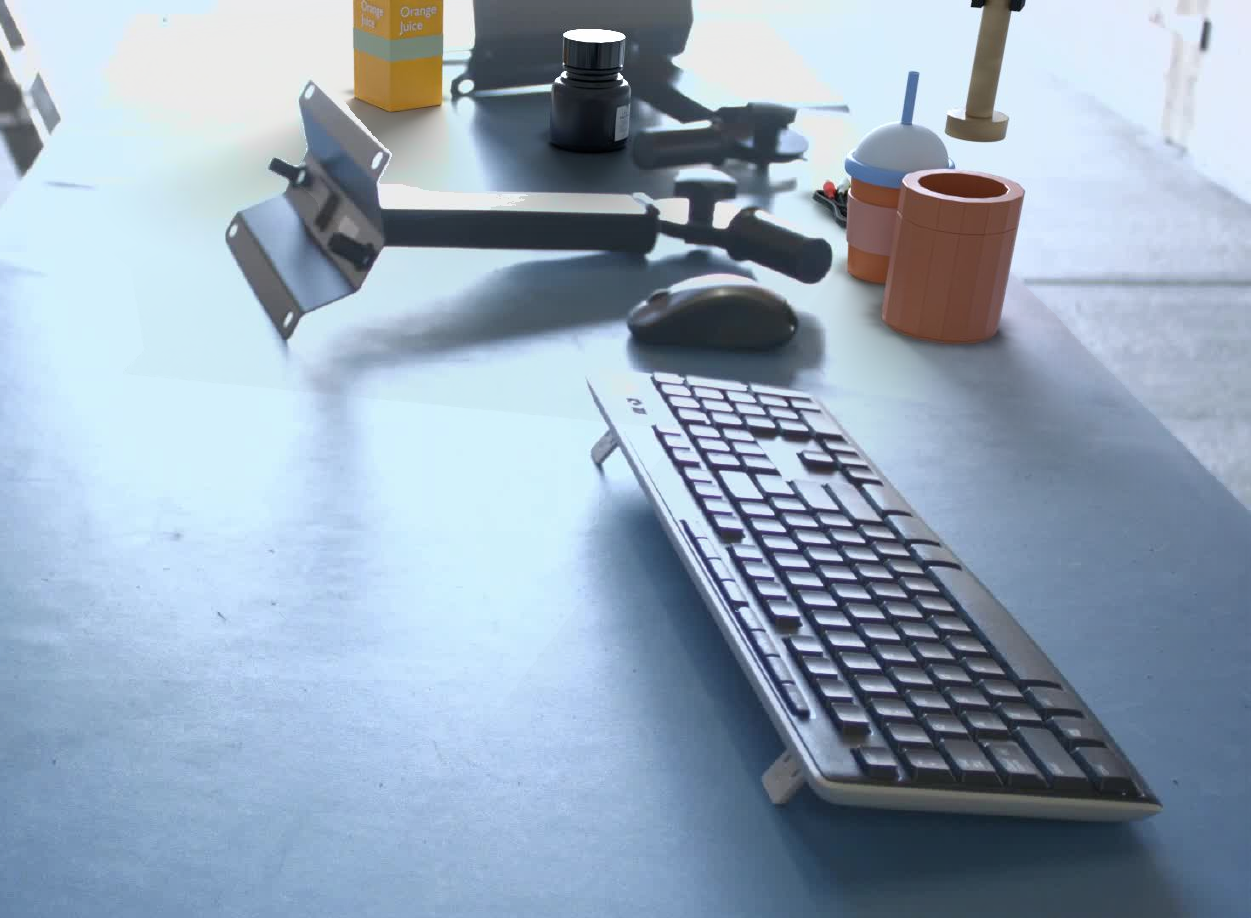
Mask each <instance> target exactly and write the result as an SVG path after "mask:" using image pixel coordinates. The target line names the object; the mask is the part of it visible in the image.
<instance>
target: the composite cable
mask: <svg viewBox="0 0 1251 918" xmlns="http://www.w3.org/2000/svg"><path fill="white" fill-rule="evenodd" d="M850 188H851V180H850V179H849V178H848V177H847V176H845V177H843V178H841V179H840V180H839V182H838V184H837V187H836V186H835V184H834V182H833V181H830V180H829V179H825V181H824V183H823V185H822V189H816V190H814V193H813V195H812V197H811V198H812V199H813V201H815V202H816V203H818V204H820V205H821V206H824V207H826V208H827V209H829V210H830V211H832V213H833V215H834V219H835V222H836V223H837V224H838V225H839V226H840V227H843V228H847V207H848V191H849V189H850Z"/></svg>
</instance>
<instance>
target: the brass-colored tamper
mask: <svg viewBox="0 0 1251 918" xmlns="http://www.w3.org/2000/svg"><path fill="white" fill-rule="evenodd" d="M1010 2H1011V0H984V5H983V7H982V9H981V15H980V23H979V28H978V34H977V39H976V44H975V50H974V56H973V62H972V67H971V68H972V69H971V73H970V79H969V84H968V89H967V90H968V91H967V95H966V96H967V97H966V102H965V107H958V108H952V109H950V110H948V111H947V115H946V121H945V127H944V134H945V135H947V136H948V137H951V138H953V139H956V140H961V141H966V142H974V143H997V142H1001V141H1004V140H1005V139H1006V136H1007V131H1008V128H1009V127H1008V126H1009V121H1010V116H1009V115H1008V114H1005V113H1003V112H1001V111H997V110H994V109H995V104H996V98H997V94H998V87H999V82H1000V77H1001V72H1002V66H1003V60H1004V54H1005V49H1006V44H1007V38H1008V32H1009V28H1010V22H1011V17H1012V12H1013V11H1009V8H1010Z"/></svg>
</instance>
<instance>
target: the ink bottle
mask: <svg viewBox="0 0 1251 918" xmlns="http://www.w3.org/2000/svg"><path fill="white" fill-rule="evenodd" d="M562 39H563V41H562V58H561V59H562V60H561V61H562V65H561V67H562V69H563V70H564V71H563V72H562V73H561V74H560V76H559V77H557V78H556V79H555V80H554V81H552V85H551V90H550V107H549V108H550V109H549V113H550V114H549V130H548V138H549V141H550V142H551V143H552V144H553V145H555V146H557V147H559V148H561V149H565V150H569V151H575V152H606V151H614V150H615V151H616V150H618V149H621V148H623V147H624V146H626V144H627V143H628V137H629V127H630V115H631V97H632V96H631V95H632V89H631V86H630V84H629V83H628V81H627V80H625V79H624V76H623V75H621V72H622V71H623V69H624V63H625V62H624V61H625V50H626V49H625V47H626V36H625V35H624V34H623V33H621V32H617V31H612V30H604V29H575V30H569V31H567V32H565V33H563V38H562Z"/></svg>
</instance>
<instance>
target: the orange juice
mask: <svg viewBox="0 0 1251 918" xmlns="http://www.w3.org/2000/svg"><path fill="white" fill-rule="evenodd" d="M352 5H353V6H352V15H353V16H352V17H353V18H352V19H353V20H352V21H353V22H352V23H353V24H352V25H353V27H352V49H353V96H354V98H355V97H356V98H355V99H358V100H360V101H363V102H365V103H368V104H370V105H372V106H375V107H377V108H380V109H382V110H383V111H387V112H389V113H392V112H399V111H406V110H414V109H420V108H427V107H433V106H442V105H443V64H444V63H443V58H444V57H443V56H444V0H352Z"/></svg>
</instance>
